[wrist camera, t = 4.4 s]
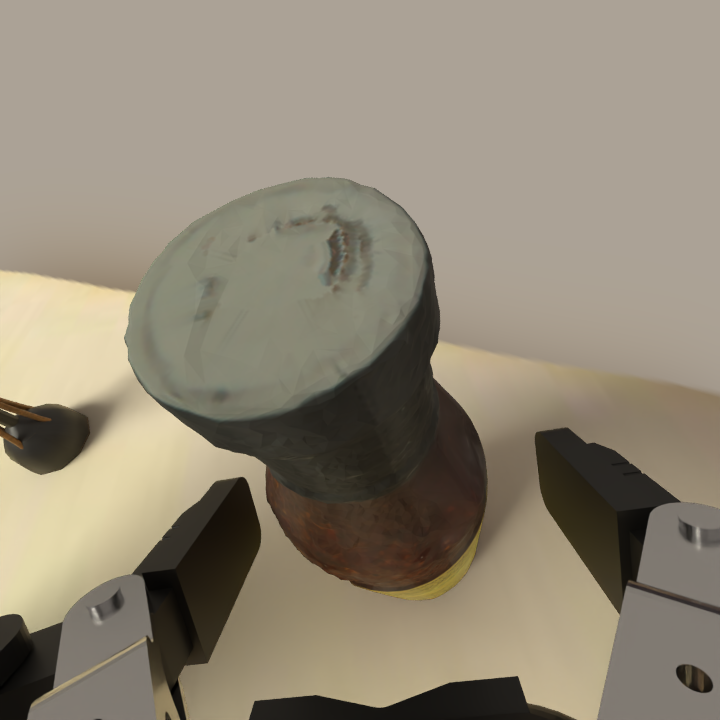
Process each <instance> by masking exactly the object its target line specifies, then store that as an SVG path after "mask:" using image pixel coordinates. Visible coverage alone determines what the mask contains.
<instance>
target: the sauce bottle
mask: <svg viewBox="0 0 720 720" xmlns="http://www.w3.org/2000/svg"><path fill="white" fill-rule="evenodd" d="M439 330H440V310H439V305H438V300H437V296H436V290H435V283H434V270H433V264H432V257H431V254H430V251H429V248H428V245H427V243H426V241H425V239H424V236H423V235H422V233H421V231H420V230H419V228H418V227H417V225H416V223H415V222H414V221H413V220H412V218H411V217H410V216H409V215H408V214H407V212H406V211H405V210H404V209H403V208H402V207H401V206H400V205H398V204H397V203H395V202H394V201H392V200H391V199H389V198H388V197H387V196H385V195H384V194H382V193H381V192H379V191H378V190H377V189H375V188H371V187H368V186H364V185H360V184H358V183H356V182H353V181H351V180H348V179H342V178H330V177H327V178H304V179H300V180H296V181H291V182H287V183H283V184H279V185H276V186H272V187H268V188H264V189H261V190H258V191H255V192H253V193H250V194H248V195H245V196H243V197H241V198H238V199H236V200H233V201H231V202H229V203H227V204H226V205H224V206H222V207H220V208H218V209H216V210H214V211H213V212H211V213H209V214H207V215H205V216H203V217H202V218H200V219H198V220H196V221H194V222H193V223H191V224H190V225H189V226H188V227H187V228H186V229H185V230H184V231H182V232H181V233H180V234H179V235H178V236H177V237H175V238H174V239H173V240H172V241H171V242H170V243H168V245H167V246H166V248H165V249H164V251H163V252H162V253H161V254H160V255H159V256H158V257H157V258H156V259H155V260H154V262H153V263H152V265H151V266H150V268H149V270H148V271H147V273H146V274H145V276H144V277H143V278H142V280H141V283H140V285H139V288H138V290H137V292H136V294H135V296H134V298H133V300H132V302H131V304H130V309H129V324H128V327H127V330H126V334H125V337H124V339H125V343H126V345H127V347H128V360H129V362H130V364H131V367H132V369H133V371H134V373H135V375H136V377H137V379H138V381H139V382H140V384H141V385H142V386H143V388H144V389H145V390H146V392H147V393H148V394H149V395H150V396H152V397H153V398H154V399H155V400H156V401H157V402H158V403H159V404H160V405H161V406H162V407H163V408H165V409H166V410H168V411H169V412H170V413H172V414H173V415H174V416H175V417H176V418H178V419H179V420H180V421H181V422H183V423H184V424H185V425H187V426H188V427H190V428H191V429H193V430H194V431H196V432H197V433H199V434H200V435H202V436H203V437H204V438H205V439H207V440H208V441H209V442H210V443H211V444H213V445H214V446H215V447H218V448H222V449H226V450H230V451H232V452H236V453H243V454H247V455H250V456H255V457H256V458H257V459H259V460H260V461H262V462H263V463H264V464H266V495H267V501H268V503H269V504H270V506H271V508H272V511H273V513H274V514H275V515H276V518H277V520H278V521H279V524H280V526H281V528H282V529H283V531H284V533H285V535H286V536H287V537H288V538H289V539H290V541H291V542H292V543H293V544H294V546H295V547H296V548H297V550H299V551H300V552H301V554H302V555H303V556H304V557H305V558H307V559H308V560H309V561H310V562H311V563H314V564H316V565H317V566H319V567H321V568H322V569H323V570H324V571H325V572H327V573H328V574H332V575H335V576H336V577H338V578H339V579H341V580H349V581H350V582H351V583H352V584H353V585H354V586H357V587H360V588H363V589H366V590H370V591H374V592H377V593H382V594H385V595H389V596H393V597H397V598H402V599H408V600H427V599H433V598H436V597H438V596H440V595H442V594H444V593H445V592H447V591H449V590H450V589H451V588H453V587H454V586H455V585H456V584H457V583H458V582H459V581H460V580H461V579H462V578H463V576H464V575H465V574H466V573H467V571H468V569H469V567H470V565H471V562H472V560H473V558H474V555H475V552H476V547H477V543H478V538H479V534H480V530H481V526H482V522H483V517H484V512H485V507H486V500H487V470H486V462H485V456H484V452H483V448H482V445H481V442H480V439H479V436H478V433H477V431H476V429H475V427H474V425H473V423H472V421H471V419H470V418H469V416H468V415H467V414H466V412H465V411H464V409H463V408H462V407H461V406H460V405H459V403H458V402H457V401H456V400H455V399H454V398H453V397H452V396H451V395H450V394H449V393H448V392H447V391H446V390H445V389H444V388H443V387H442V386H441V385H440V384H439V383H438V382H437V381H436V380H435V379H434V378H433V372H432V367H431V364H430V359H431V356H432V354H433V352H434V350H435V348H436V345H437V343H438V334H439Z"/></svg>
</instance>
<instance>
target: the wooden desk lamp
mask: <svg viewBox="0 0 720 720" xmlns="http://www.w3.org/2000/svg"><path fill="white" fill-rule="evenodd" d="M0 408H1V409H4V410H7V411H9V412H12V413H16V414H17V415H12V414H10V413H8V412H6V411H3V410H1V409H0V424H1V425H4V426H6V427H5V429H4V428H3V427H1V426H0V436H1V437H3V438H4V448H5V453H6V454H7V455H8V456H9V457H10V459H11V460H13V461H15V462H16V463H18V464H20V465H21V466H23V467H25V468H26V469H28V470H30V471H32V472H34V473H37V474H40V475H42V474H46V473H50V472H53V471H57V470H61V469H62V468H63V467H64V466H66V465H67V464H68V463H69V462H70V461H71V460H72V459H74V458H75V457H76V456H77V455H78V454H79V453H80V452H81V450H82V448H83V446H84V444H85V442H86V440H87V437H88V435H89V433H90V431H89V425H88V418H87V417H86V416H84V415H82V414H80V413H78V412H76V411H74V410H72V409H70V408H68V407H65V406H62V405H59V404H45V405H41V406H37V407H32V406H27V405H24V404H20V403H17V402H13V401H10V400H6V399H3V398H0Z"/></svg>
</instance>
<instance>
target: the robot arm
mask: <svg viewBox="0 0 720 720" xmlns="http://www.w3.org/2000/svg"><path fill="white" fill-rule="evenodd" d="M535 446H536V455H537V464H538V473H539V482H540V489H541V494H542V497H543V500H544V503H545V505H546V508H547V509H548V511H549V513H550V514H551V516H552V517H553V519H554V520H555V521H556V523H557V524H558V526H559V527H560V529H561V530H562V532H563V533H564V535H565V536H566V537H567V539H568V540H569V542H570V543H571V545H572V546H573V548H574V549H575V550H576V552H577V553H578V555H579V556H580V558H581V559H582V561H583V562H584V564H585V565H586V566H587V568H588V569H589V571H590V572H591V574H592V575H593V577H594V578H595V580H596V581H597V582H598V584H599V585H600V587H601V588H602V590H603V591H604V593H605V594H606V595H607V597H608V598H609V600H610V601H611V603H612V604H613V606H614V607H615V609H616V610H617V611H618V613H619V614H620V617H619V622H618V627H617V631H616V636H615V640H614V645H613V649H612V654H611V659H610V663H609V668H608V672H607V677H606V682H605V686H604V691H603V695H602V700H601V704H600V709H599V714H598V718H597V720H720V509H718V508H714V507H711V506H707V505H702V504H695V503H684V502H680V501H679V500H678V499H677V498H675V497H674V496H673V495H671V494H670V493H669V492H667V491H666V490H665V489H664V488H662V487H661V486H660V485H658V484H657V483H656V482H655V481H653V480H652V479H651V478H649V477H648V476H647V475H645V474H642V473H641V471H640V470H639V469H638V468H636V467H635V466H634V465H633V464H629V461H627V460H626V459H625V458H623V457H622V456H621V455H620V454H618V453H617V452H616V451H614V450H612V449H609V448H606V447H604V446H601V445H599V444H596V443H589V444H586V443H585V442H584V441H583V440H582V439H581V438H579V437H578V436H577V435H576V434H575V433H573V432H572V431H571V430H570V429H569V428H560V429H553V430H547V431H540V432H537V433H536V435H535ZM260 543H261V529H260V524H259V520H258V517H257V513H256V509H255V506H254V502H253V499H252V495H251V492H250V488H249V485H248V482H247V481H246V479H245V478H243V477H239V478H232V479H226V480H220V481H216V482H215V483H214V484H213V485H212V486H211V487H210V489H209V490H208V491H207V492H206V494H205V495H204V496H203V497H202V499H201V500H200V501H198V502H197V503H196V504H194V505H193V506H192V507H190V508H189V509H188V510H186V511H185V512H184V513H182V515H181V516H180V517H179V518H178V519H177V521H176V522H175V523H174V524H173V525H172V529H169V530H168V531H167V533H166V534H165V535H164V536H163V537H162V540H161V541H159V542H158V543H157V545H156V546H155V547H154V548H153V549H152V551H151V552H150V553H149V554H148V555H147V557H146V558H145V559H144V560H143V561H142V563H141V564H140V565H139V566H138V567H137V569H136V570H135V571H134V572H133V573H132V575H125V576H121V577H117V578H115V579H112V580H110V581H107V582H105V583H103V584H101V585H100V586H98V587H96V588H95V589H93V590H91V591H90V592H89V593H87V594H86V595H85V596H83V597H82V598H81V599H80V600H79V601H78V602H77V603H75V604H74V606H73V607H72V608H71V609H70V610H69V612H68V613H67V614H66V616H65V618H64V621H63V622H62V623H59V624H56V625H53V626H51V627H48V628H45V629H42V630H39V631H37V632H34V633H31V634H29V631H28V629H27V627H26V625H25V622H24V620H23V618H22V617H21V616H20V615H17V614H10V615H5V616H1V617H0V720H190V719H189V714H188V709H187V705H186V700H185V695H184V691H183V687H182V684H181V681H180V679H179V675H180V673H181V671H182V669H183V667H184V666H185V665H195V664H204V663H208V661H209V659H210V657H211V654H212V652H213V650H214V648H215V646H216V643H217V641H218V639H219V637H220V635H221V632H222V630H223V628H224V626H225V623H226V621H227V619H228V617H229V615H230V612H231V610H232V608H233V606H234V603H235V601H236V599H237V597H238V595H239V592H240V590H241V588H242V586H243V584H244V581H245V579H246V577H247V575H248V572H249V570H250V568H251V566H252V564H253V561H254V559H255V557H256V555H257V553H258V550H259V547H260ZM249 720H576V719H574V718H572V717H569V716H567V715H565V714H562V713H560V712H558V711H555V710H551V709H548V708H545V707H542V706H538V705H533V704H528V703H527V702H526V699H525V696H524V693H523V690H522V687H521V684H520V681H519V678H518V676H515V677H505V678H494V679H484V680H473V681H462V682H452V683H448V684H445V685H442V686H440V687H437V688H435V689H432V690H429V691H427V692H424V693H422V694H419V695H416V696H414V697H411V698H409V699H406V700H403V701H401V702H398V703H396V704H393V705H390V706H388V707H384V708H375V707H370V706H365V705H361V704H356V703H351V702H346V701H341V700H336V699H332V698H327V697H322V696H317V695H313V696H303V697H292V698H281V699H271V700H260V701H255V702H254V705H253V708H252V712H251V715H250V718H249Z"/></svg>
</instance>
